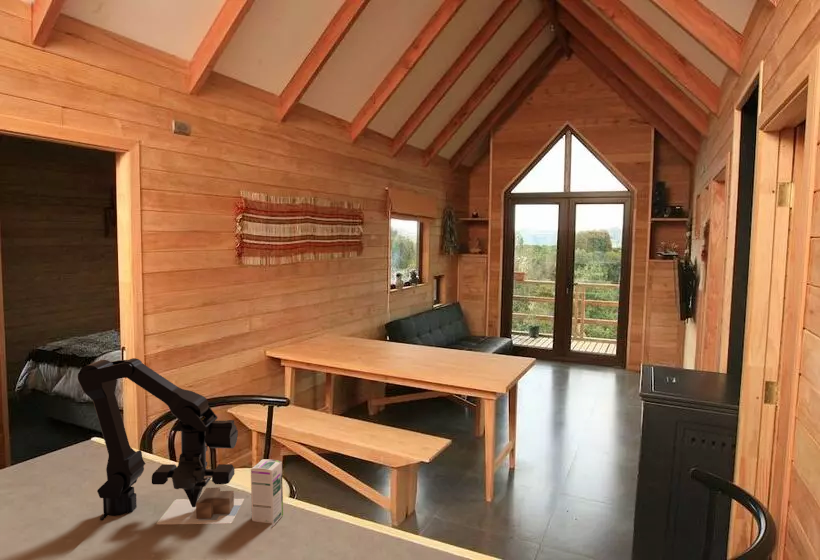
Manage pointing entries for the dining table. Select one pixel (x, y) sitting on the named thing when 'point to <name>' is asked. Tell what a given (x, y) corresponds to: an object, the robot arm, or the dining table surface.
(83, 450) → the dining table surface
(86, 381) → the robot arm
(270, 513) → the syrup box
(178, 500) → the board
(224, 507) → the walnut T block
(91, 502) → the dining table surface
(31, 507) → the dining table surface
